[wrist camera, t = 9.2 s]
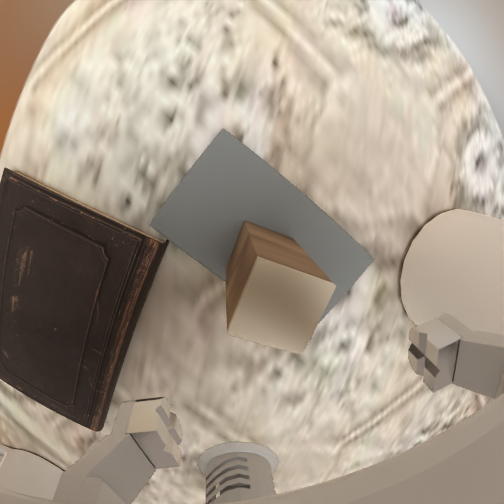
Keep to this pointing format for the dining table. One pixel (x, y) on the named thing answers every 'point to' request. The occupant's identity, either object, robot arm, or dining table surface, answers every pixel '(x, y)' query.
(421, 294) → the white lidded jar
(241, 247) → the walnut block
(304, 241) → the rubber mat
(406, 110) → the dining table surface
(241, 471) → the french press
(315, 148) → the dining table surface
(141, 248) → the hardcover book
